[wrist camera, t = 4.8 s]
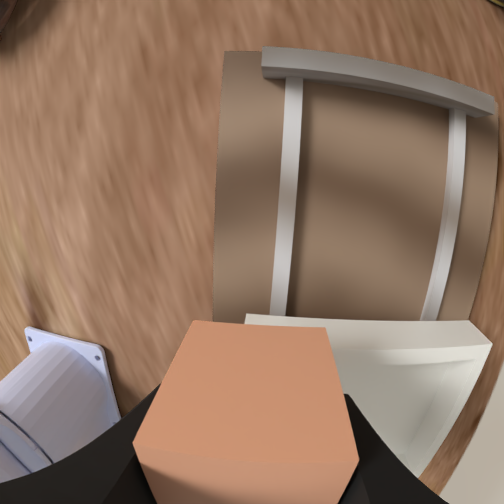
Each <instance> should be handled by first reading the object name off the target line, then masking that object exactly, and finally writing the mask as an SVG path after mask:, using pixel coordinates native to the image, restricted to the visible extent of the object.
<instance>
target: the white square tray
mask: <svg viewBox="0 0 504 504" xmlns="http://www.w3.org/2000/svg"><path fill="white" fill-rule="evenodd" d="M244 324H252V325H270V326H293V327H325V328H326V331H327V335H328V338H329V342H330V345H331V349H332V353H333V356H334V360H335V364H336V367H337V371H338V375H339V379H340V383H341V386H342V390H343V394H349V395H350V397H351V398H352V399H353V401H354V402H355V404H356V405H357V407H358V408H359V409H360V411H361V412H362V414H363V415H364V416H365V418H366V419H367V421H368V422H369V423H370V425H371V426H372V427H373V429H374V430H375V431H376V433H377V434H378V435H379V436H380V437H381V439H382V440H383V441H384V442H385V444H386V445H387V446H388V447H389V449H390V450H391V451H392V452H393V453H394V454H395V455H396V457H397V458H398V459H399V460H400V461H401V462H402V463H403V464H404V465H405V466H406V467H407V468H408V469H409V470H410V471H411V472H412V473H413V474H414V475H415V476H416V477H417V478H418V477H419V476H420V475H421V473H422V472H423V471H424V469H425V468H426V466H427V465H428V464H429V462H430V461H431V459H432V458H433V456H434V455H435V453H436V452H437V450H438V449H439V447H440V446H441V444H442V443H443V441H444V439H445V438H446V436H447V435H448V433H449V431H450V430H451V428H452V426H453V425H454V423H455V421H456V419H457V418H458V416H459V414H460V412H461V410H462V409H463V407H464V405H465V403H466V401H467V399H468V397H469V395H470V393H471V391H472V389H473V387H474V385H475V383H476V381H477V379H478V377H479V375H480V372H481V370H482V368H483V366H484V363H485V361H486V359H487V356H488V354H489V352H490V349H491V347H492V343H491V342H490V341H489V340H488V339H487V338H486V337H485V336H484V335H483V334H482V333H481V332H480V331H479V330H478V329H477V328H476V327H475V326H474V325H473V324H472V323H471V322H470V321H469V320H462V321H375V320H343V319H321V318H302V317H286V316H272V315H259V314H247V313H246V318H245V323H244Z"/></svg>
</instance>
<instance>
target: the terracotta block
mask: <svg viewBox="0 0 504 504" xmlns="http://www.w3.org/2000/svg"><path fill="white" fill-rule="evenodd" d="M133 446H134V448H135V451H136V454H137V457H138V459H139V462H140V464H141V467H142V469H143V472H144V474H145V477H146V479H147V482H148V484H149V486H150V489H151V491H152V493H153V495H154V498H155V500H156V502H157V504H337V503H338V501H339V500H340V498H341V496H342V494H343V492H344V490H345V488H346V486H347V484H348V482H349V480H350V478H351V476H352V474H353V472H354V470H355V468H356V466H357V464H358V462H359V457H358V452H357V448H356V444H355V439H354V435H353V431H352V427H351V422H350V418H349V414H348V410H347V406H346V402H345V398H344V394H343V390H342V386H341V383H340V379H339V375H338V371H337V367H336V364H335V360H334V356H333V353H332V349H331V345H330V342H329V338H328V335H327V331H326V328H325V327H293V326H270V325H252V324H236V323H222V322H210V321H198V320H193V322H192V323H191V325H190V327H189V329H188V331H187V333H186V335H185V337H184V339H183V341H182V343H181V345H180V347H179V349H178V351H177V353H176V355H175V357H174V359H173V361H172V363H171V365H170V367H169V369H168V371H167V373H166V375H165V377H164V379H163V381H162V383H161V385H160V387H159V389H158V391H157V393H156V395H155V397H154V400H153V402H152V404H151V406H150V408H149V410H148V412H147V414H146V416H145V418H144V420H143V422H142V424H141V426H140V428H139V430H138V432H137V435H136V437H135V439H134V441H133Z"/></svg>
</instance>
